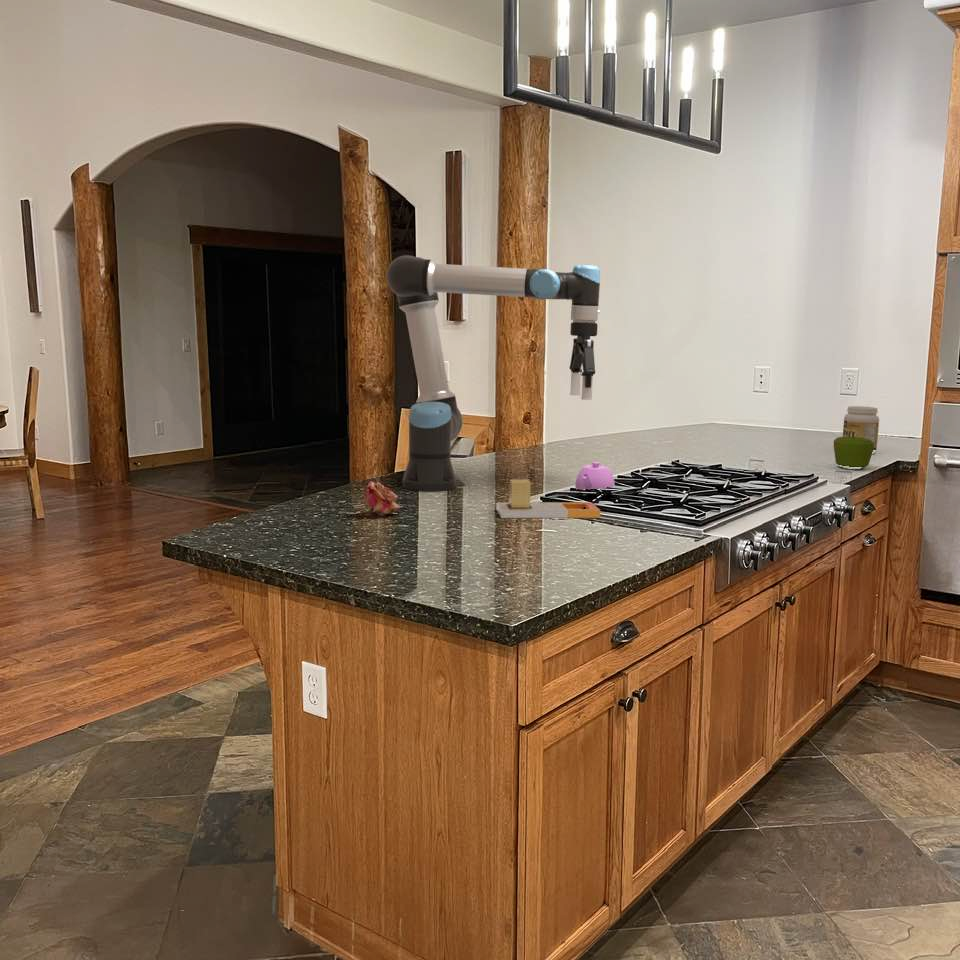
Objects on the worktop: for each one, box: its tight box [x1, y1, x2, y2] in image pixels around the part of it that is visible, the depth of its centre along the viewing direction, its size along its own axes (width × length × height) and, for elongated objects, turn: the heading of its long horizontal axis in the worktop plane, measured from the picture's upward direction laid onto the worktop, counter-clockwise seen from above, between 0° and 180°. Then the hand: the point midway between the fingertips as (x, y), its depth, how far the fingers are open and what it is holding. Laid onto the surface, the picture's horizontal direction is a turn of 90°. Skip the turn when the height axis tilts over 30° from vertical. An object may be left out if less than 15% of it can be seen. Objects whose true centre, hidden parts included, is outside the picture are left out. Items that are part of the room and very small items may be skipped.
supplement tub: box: [842, 405, 880, 451], centre depth 361 cm, size 12×12×17 cm
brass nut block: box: [508, 479, 532, 509], centre depth 237 cm, size 4×4×8 cm
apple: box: [833, 435, 874, 468], centre depth 323 cm, size 12×12×11 cm
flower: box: [363, 480, 402, 517], centre depth 236 cm, size 10×9×8 cm
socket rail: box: [495, 501, 601, 519], centre depth 238 cm, size 24×10×2 cm, turn 96°
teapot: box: [574, 461, 616, 489], centre depth 264 cm, size 10×15×9 cm
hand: (580, 397), depth 277 cm, fingers open, 13 cm apart
